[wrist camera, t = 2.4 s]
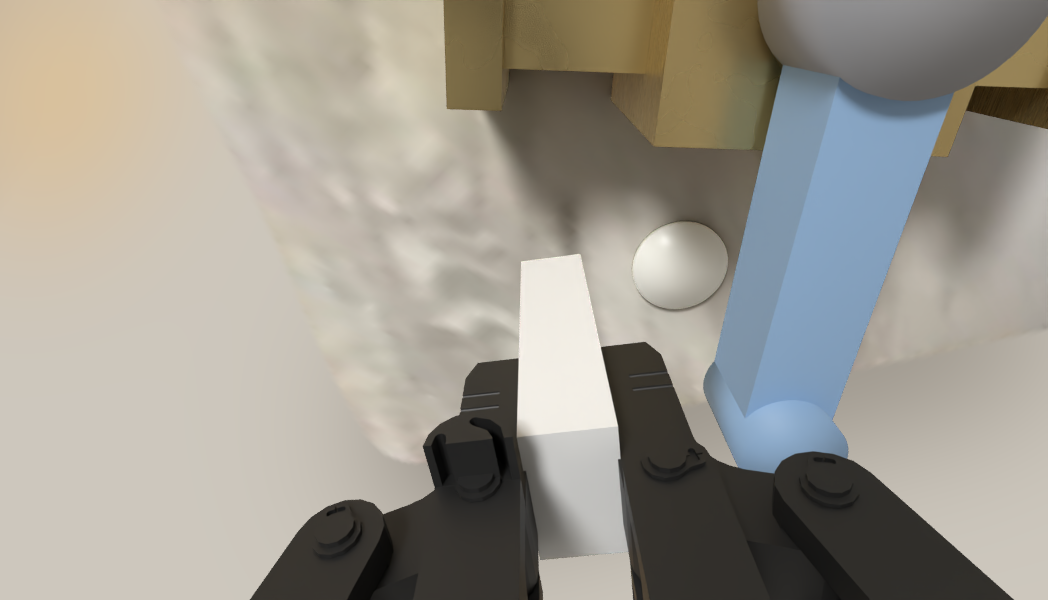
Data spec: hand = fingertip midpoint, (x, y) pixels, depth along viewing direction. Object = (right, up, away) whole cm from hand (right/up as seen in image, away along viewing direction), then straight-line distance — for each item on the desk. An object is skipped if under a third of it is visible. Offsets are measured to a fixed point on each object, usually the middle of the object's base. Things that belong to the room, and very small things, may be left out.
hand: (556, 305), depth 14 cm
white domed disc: (+6, +2, +12) cm, 14 cm away
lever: (+7, +3, +1) cm, 7 cm away
